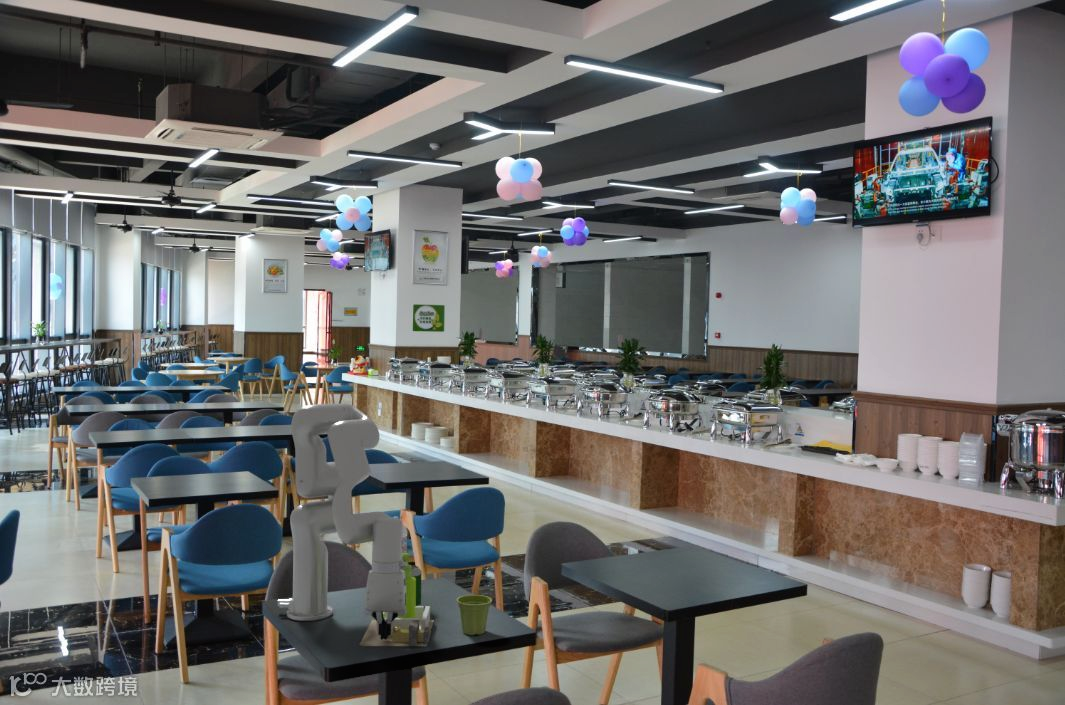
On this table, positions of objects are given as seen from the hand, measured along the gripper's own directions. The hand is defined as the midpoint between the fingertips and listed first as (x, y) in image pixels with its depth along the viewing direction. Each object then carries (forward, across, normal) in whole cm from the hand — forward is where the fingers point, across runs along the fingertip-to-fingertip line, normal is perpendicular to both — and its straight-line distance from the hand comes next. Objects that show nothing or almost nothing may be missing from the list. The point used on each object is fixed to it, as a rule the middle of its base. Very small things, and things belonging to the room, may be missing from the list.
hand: (384, 637), depth 217 cm
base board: (+2, -2, -8) cm, 8 cm away
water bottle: (+2, +3, -38) cm, 38 cm away
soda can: (+2, -2, -29) cm, 29 cm away
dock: (+2, -3, -11) cm, 12 cm away
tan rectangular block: (0, -6, 0) cm, 6 cm away
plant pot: (+1, -22, -10) cm, 24 cm away
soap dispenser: (+1, -3, -11) cm, 11 cm away
